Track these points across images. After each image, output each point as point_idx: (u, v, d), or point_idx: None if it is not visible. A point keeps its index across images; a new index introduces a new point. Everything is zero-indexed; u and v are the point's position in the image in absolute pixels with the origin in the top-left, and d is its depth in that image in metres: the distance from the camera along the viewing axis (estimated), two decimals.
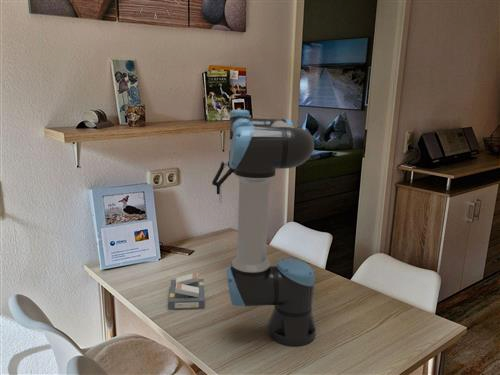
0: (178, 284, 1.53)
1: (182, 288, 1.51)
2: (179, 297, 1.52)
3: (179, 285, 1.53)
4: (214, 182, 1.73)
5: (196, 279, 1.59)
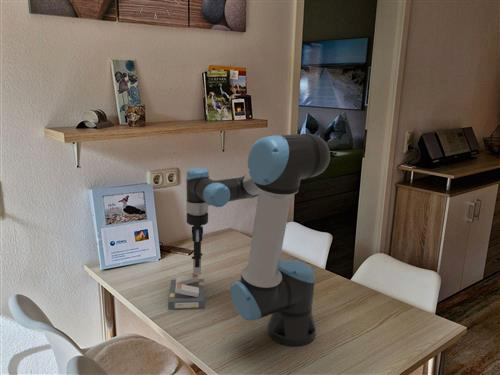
0: (178, 284, 1.53)
1: (182, 288, 1.51)
2: (179, 297, 1.52)
3: (179, 285, 1.53)
4: None
5: (196, 279, 1.59)
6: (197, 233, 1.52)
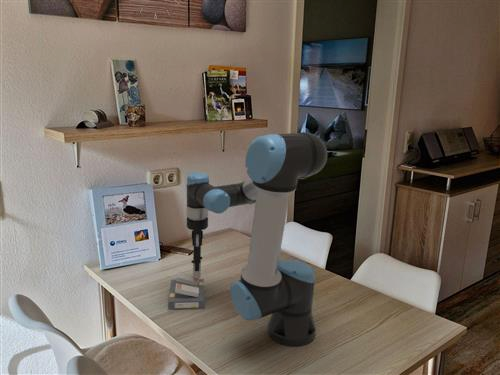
0: (178, 284, 1.53)
1: (182, 288, 1.51)
2: (179, 297, 1.52)
3: (179, 285, 1.53)
4: None
5: (196, 284, 1.59)
6: (197, 238, 1.52)
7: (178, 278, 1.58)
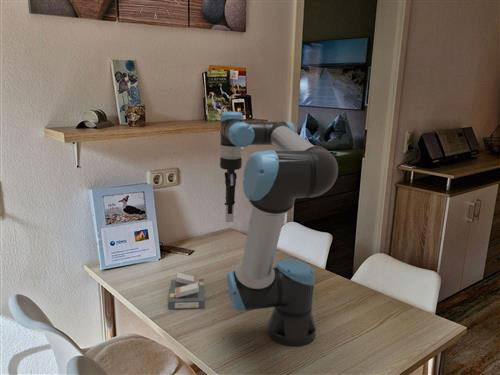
0: (177, 289, 1.53)
1: (181, 290, 1.52)
2: (179, 297, 1.52)
3: (177, 289, 1.53)
4: None
5: None
6: (231, 177, 1.50)
7: (178, 278, 1.58)
